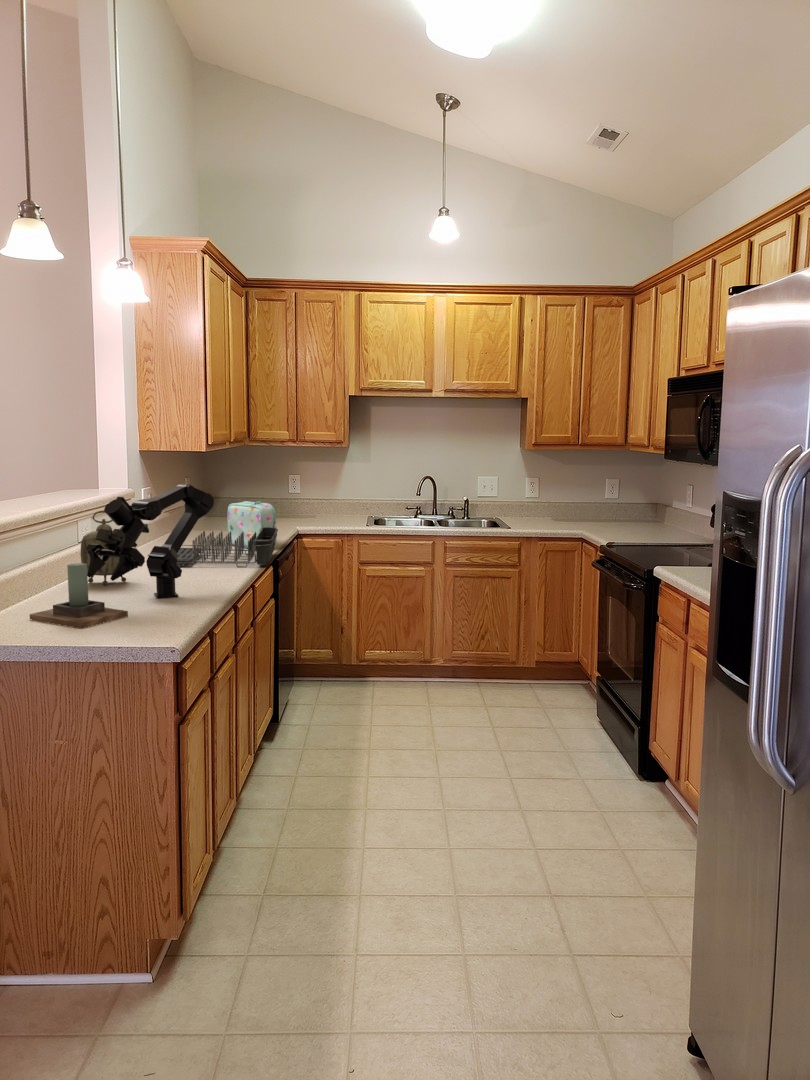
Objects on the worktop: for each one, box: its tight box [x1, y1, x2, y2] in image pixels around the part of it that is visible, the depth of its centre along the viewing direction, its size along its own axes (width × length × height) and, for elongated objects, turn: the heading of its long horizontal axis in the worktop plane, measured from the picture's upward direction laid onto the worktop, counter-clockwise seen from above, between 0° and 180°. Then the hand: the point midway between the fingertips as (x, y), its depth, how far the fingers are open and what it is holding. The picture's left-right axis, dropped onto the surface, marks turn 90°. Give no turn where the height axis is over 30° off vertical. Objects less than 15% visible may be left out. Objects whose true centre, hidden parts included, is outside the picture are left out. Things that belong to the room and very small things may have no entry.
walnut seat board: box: [29, 599, 129, 629], centre depth 214 cm, size 16×20×4 cm
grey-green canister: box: [66, 562, 89, 608], centre depth 213 cm, size 5×5×13 cm
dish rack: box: [176, 527, 279, 568], centre depth 310 cm, size 34×44×12 cm
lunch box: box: [226, 500, 278, 549], centre depth 347 cm, size 27×10×21 cm, turn 51°
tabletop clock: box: [80, 510, 127, 586], centre depth 259 cm, size 14×9×25 cm, turn 103°
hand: (99, 578), depth 220 cm, fingers open, 9 cm apart
